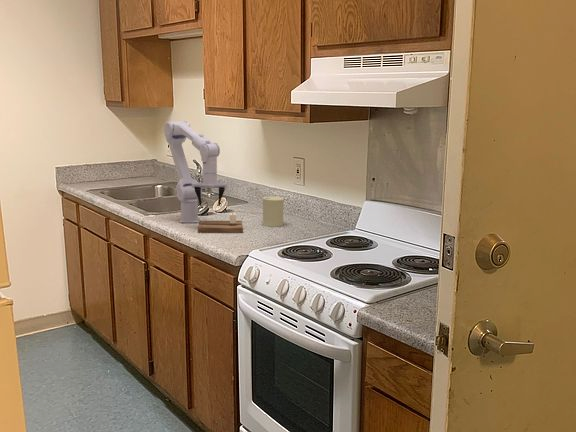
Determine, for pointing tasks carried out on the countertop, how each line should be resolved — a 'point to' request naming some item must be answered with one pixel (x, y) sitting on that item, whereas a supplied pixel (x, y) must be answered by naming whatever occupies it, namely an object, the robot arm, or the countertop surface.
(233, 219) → the fader
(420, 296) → the countertop surface
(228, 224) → the board
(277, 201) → the can
